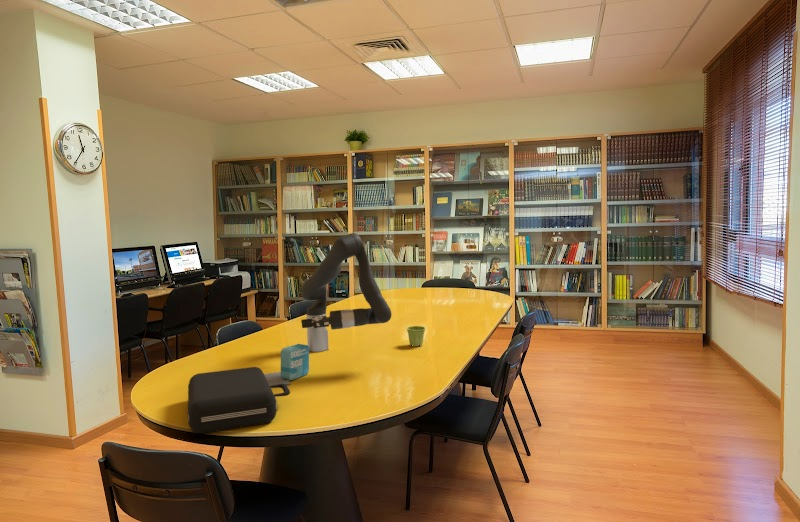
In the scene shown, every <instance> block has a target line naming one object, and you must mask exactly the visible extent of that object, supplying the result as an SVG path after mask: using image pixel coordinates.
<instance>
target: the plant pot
mask: <svg viewBox="0 0 800 522" xmlns="http://www.w3.org/2000/svg"><path fill="white" fill-rule="evenodd" d="M406 331H407V334H408V340H409V346H411V345H413V346H417V347H419V345H422V344H423V343H424V336H425V331H426V327H425V326H421V325H411V326H408V327H406ZM422 346H423V345H422Z"/></svg>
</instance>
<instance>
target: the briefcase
mask: <svg viewBox="0 0 800 522" xmlns="http://www.w3.org/2000/svg"><path fill="white" fill-rule="evenodd" d="M264 374H265V373H264V372H263V370H262V369H261V368H260V367H257V366H250V367H243V368H242V367H241V368H235V369H234V368H233V369H227V370H225V369H224V370H218V371H208V372H201V373H196V374H194V375H192V376H191V378H190V379H189V382H188V385H187V388H188V390H187V393H188V395H187V396H188V397H187V402H188V403H187V422H188V425H189V428H190V429H191V431H192V432H193V433H195V434H208V433H213V432H219V431H225V430H226V431H227V430H232V429H233V430H234V429H238V428H239V429H240V428H245V427H246V428H247V427H251V426H258V425H264V424H269V423H271V422H272V421H273V420H274V419H275V417H276V415H277V411H278V407H277V406H278V405H277V397H286V396H289V395H290V393H291V390H290V388H289V386H288V385H286V384H277V385H272V386H269V384H268V381H267V379H266V377H265V375H264ZM274 388H275V389H276V388H280V389H282V391H283V392H279V393H275V394H274V392H273V389H274Z"/></svg>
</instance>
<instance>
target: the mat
mask: <svg viewBox="0 0 800 522" xmlns="http://www.w3.org/2000/svg"><path fill="white" fill-rule="evenodd" d="M264 375H265V377H266V379H267V381H268V384H269V386H272V385H277V384H286V385H287V386H291V382H290V380H288V379H283V378H281V371H276V372H270V373H264Z"/></svg>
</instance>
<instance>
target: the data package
mask: <svg viewBox="0 0 800 522" xmlns="http://www.w3.org/2000/svg"><path fill="white" fill-rule="evenodd" d="M309 371H310V351H309V346H308V344H303V343H302V344H301V343H297V344H293V345H290V346H286V347H283V348H282V349H281V351H280V372H281V378H283V379H288V381H293V380H296V379H299V378H302V377H304V376H306V375H308V373H310V372H309Z"/></svg>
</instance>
